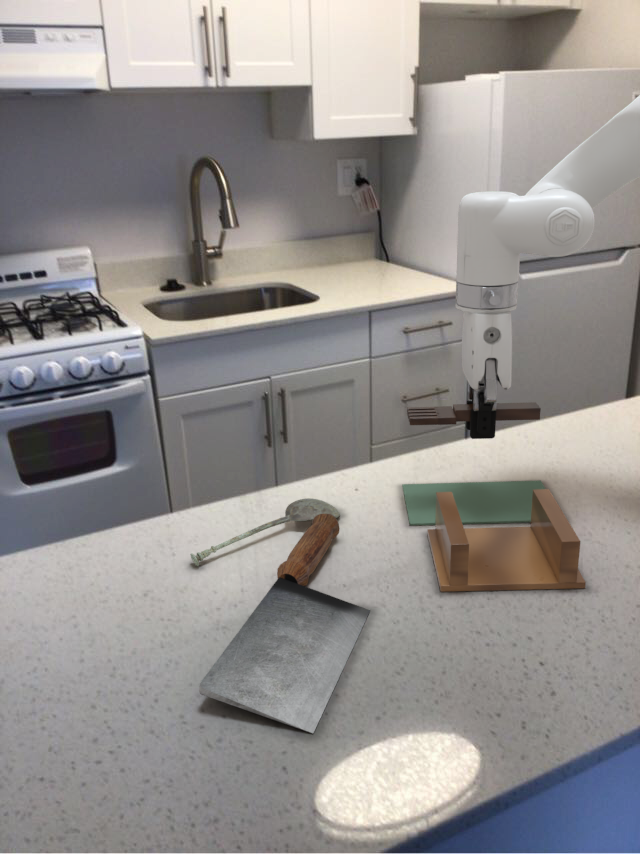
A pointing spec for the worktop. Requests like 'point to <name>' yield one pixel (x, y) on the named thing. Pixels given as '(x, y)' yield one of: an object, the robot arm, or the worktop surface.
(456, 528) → the rack
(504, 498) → the mat
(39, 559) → the worktop surface
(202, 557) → the soupspoon
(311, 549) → the meat cleaver
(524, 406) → the fork
